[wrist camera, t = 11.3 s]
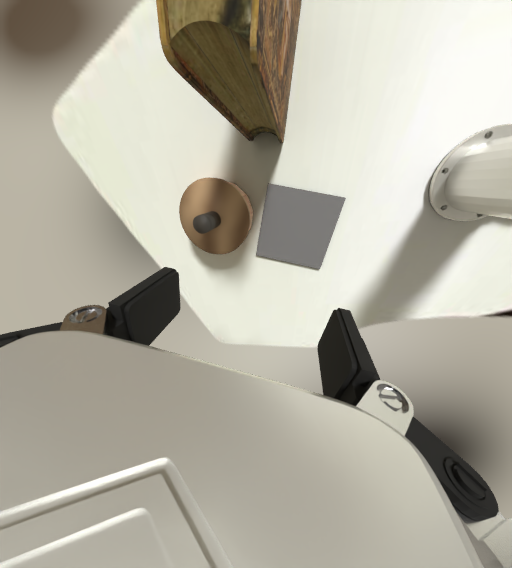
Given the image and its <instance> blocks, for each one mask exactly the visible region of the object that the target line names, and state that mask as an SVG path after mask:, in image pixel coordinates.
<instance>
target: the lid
mask: <svg viewBox="0 0 512 568" xmlns="http://www.w3.org/2000/svg"><path fill="white" fill-rule="evenodd" d="M179 213H180V220H181V224H182V227H183V229H184V231H185V233H186V235H187V236H188V238H189V239H190V240H191V241H192V242H193V243H194V244H195V245H196V246H197V247H199V248H200V249H202V250H204V251H206V252H208V253H212V254H226V253H229V252H232V251H233V250H235V249H236V248H238V247H239V246H240V245H241V244H242V243H243V241H244V240H245V239H246V237H247V235H248V232H249V228H250V211H249V208H248V205H247V202H246V200H245V198H244V197H243V195H242V194H241V192H240V191H239V190H238V189H237V188H236V187H235V186H233V185H232V184H230V183H229V182H227V181H225V180H222V179H218V178H203V179H199V180H197V181H195V182H193V183H192V184H191V185H190V186H189V187H188V188H187V189H186V190H185V192H184V194H183V196H182V198H181V202H180V211H179Z"/></svg>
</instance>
